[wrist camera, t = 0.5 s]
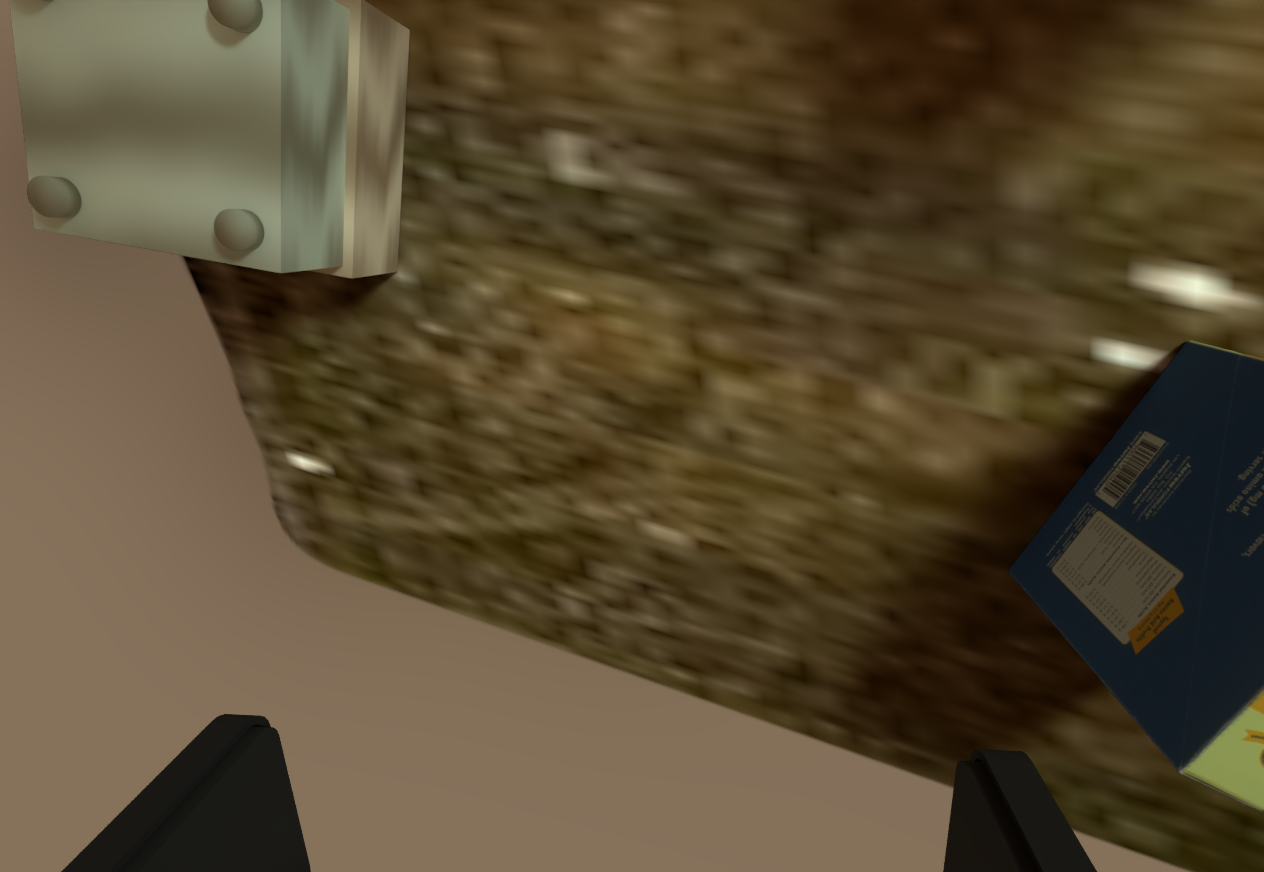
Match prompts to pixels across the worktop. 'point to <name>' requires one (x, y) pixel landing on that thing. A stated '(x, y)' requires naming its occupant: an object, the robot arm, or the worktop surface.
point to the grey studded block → (218, 128)
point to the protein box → (1173, 568)
